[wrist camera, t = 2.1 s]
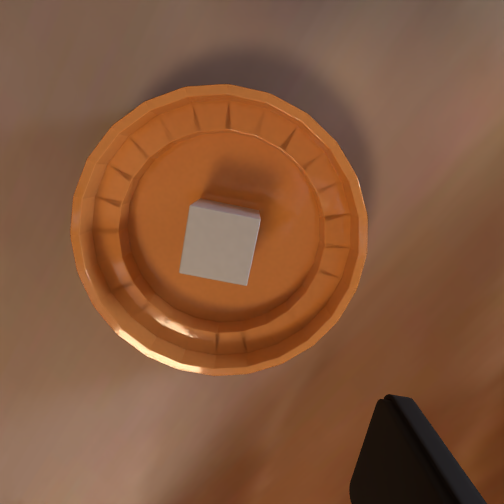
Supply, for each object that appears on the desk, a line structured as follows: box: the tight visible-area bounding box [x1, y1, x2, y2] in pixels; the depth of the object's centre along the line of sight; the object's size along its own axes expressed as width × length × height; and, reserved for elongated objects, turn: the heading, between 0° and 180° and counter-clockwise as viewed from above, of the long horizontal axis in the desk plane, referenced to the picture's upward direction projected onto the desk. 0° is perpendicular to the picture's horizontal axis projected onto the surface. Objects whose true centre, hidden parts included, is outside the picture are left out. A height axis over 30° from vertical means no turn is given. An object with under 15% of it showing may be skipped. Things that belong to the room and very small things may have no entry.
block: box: [179, 198, 261, 286], centre depth 25 cm, size 4×4×4 cm
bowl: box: [70, 84, 368, 376], centre depth 25 cm, size 19×19×4 cm
